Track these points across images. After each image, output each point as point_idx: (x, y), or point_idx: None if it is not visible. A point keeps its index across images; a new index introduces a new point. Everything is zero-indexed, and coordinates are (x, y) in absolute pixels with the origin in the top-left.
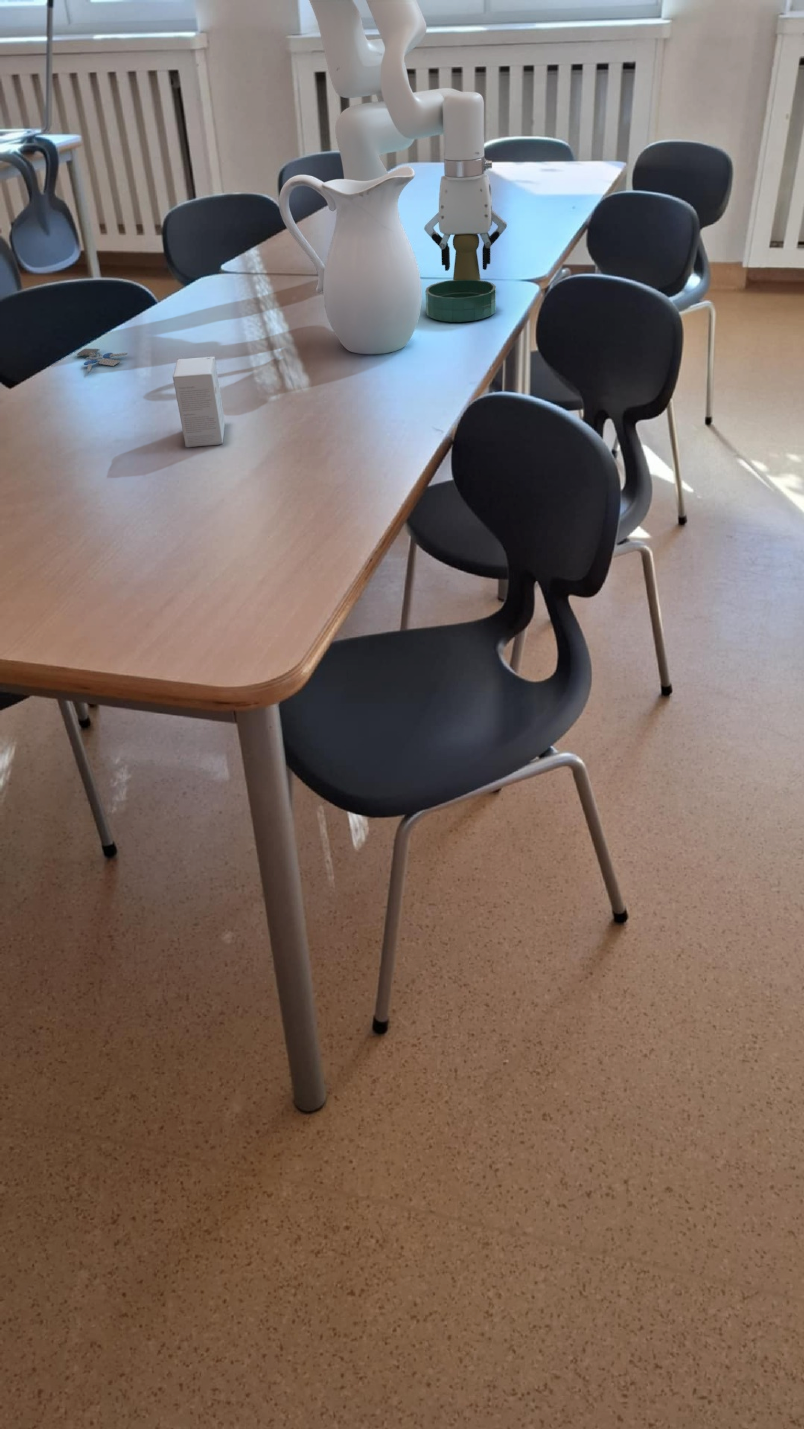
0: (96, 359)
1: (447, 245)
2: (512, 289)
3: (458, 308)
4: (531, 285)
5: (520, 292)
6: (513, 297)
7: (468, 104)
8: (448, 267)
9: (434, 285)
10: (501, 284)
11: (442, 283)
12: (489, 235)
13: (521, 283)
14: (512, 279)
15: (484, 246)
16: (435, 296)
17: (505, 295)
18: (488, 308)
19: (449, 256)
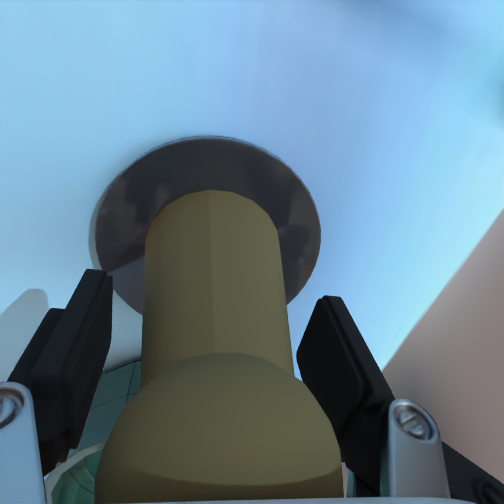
0: None
1: (55, 453)
2: (406, 226)
3: None
4: (500, 187)
5: (414, 269)
6: (368, 317)
7: None
8: (106, 355)
9: (67, 468)
10: (397, 132)
11: (98, 448)
12: (442, 475)
13: (483, 142)
14: (488, 43)
15: (347, 454)
16: None
17: (351, 292)
18: None
19: (94, 332)
